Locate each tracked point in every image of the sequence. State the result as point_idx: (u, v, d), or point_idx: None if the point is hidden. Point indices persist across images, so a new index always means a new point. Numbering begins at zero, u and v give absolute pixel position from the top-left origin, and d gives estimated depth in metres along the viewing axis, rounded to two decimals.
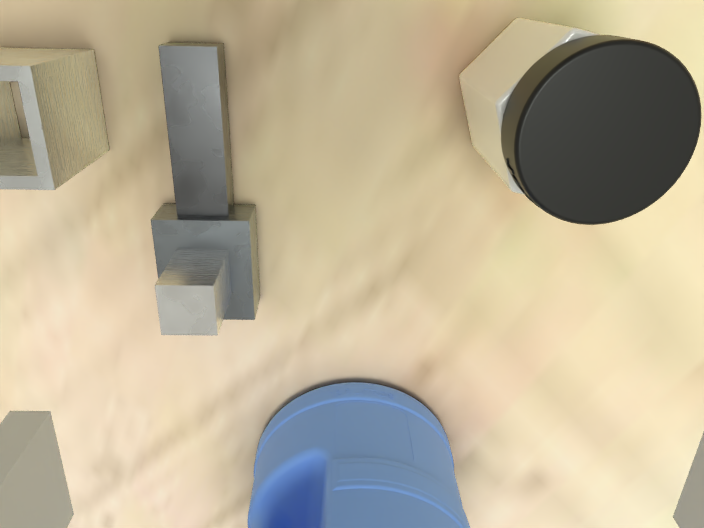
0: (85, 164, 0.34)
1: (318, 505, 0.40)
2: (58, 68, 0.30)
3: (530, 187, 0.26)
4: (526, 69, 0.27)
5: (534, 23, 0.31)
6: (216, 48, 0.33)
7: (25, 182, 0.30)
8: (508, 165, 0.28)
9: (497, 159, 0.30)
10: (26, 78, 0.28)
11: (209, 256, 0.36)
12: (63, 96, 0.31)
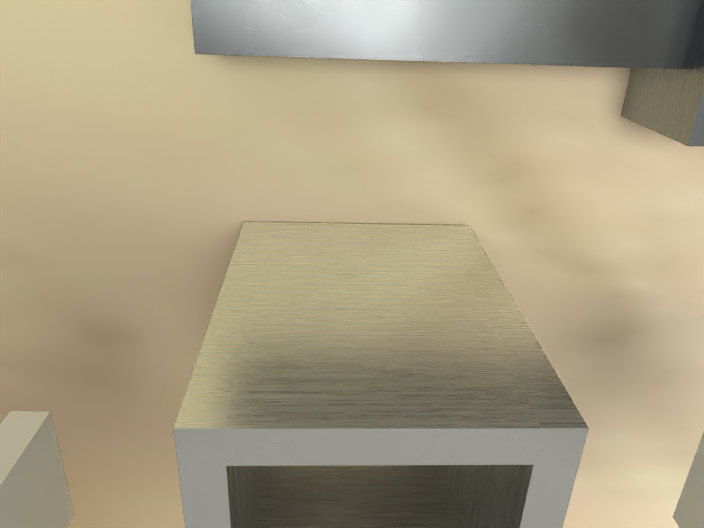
0: (501, 294, 0.12)
1: None
2: (234, 322, 0.11)
3: None
4: None
5: None
6: None
7: (546, 497, 0.09)
8: None
9: None
10: (215, 443, 0.09)
11: None
12: (309, 322, 0.11)
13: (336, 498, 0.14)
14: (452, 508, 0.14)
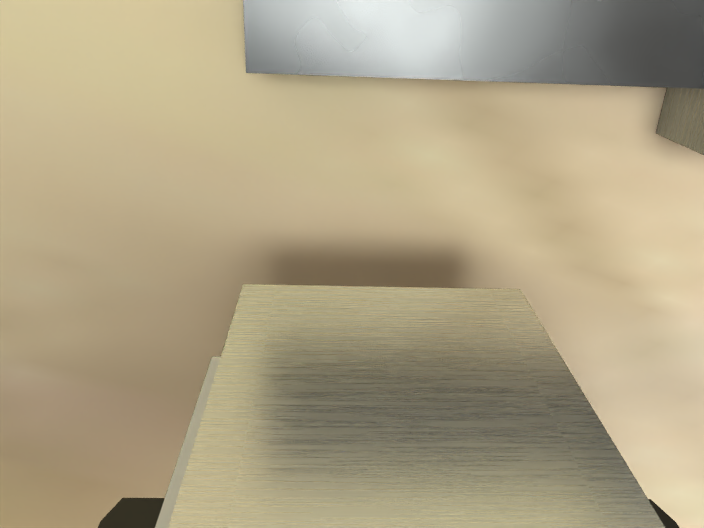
0: (578, 402, 0.09)
1: None
2: (224, 455, 0.08)
3: None
4: None
5: None
6: None
7: None
8: None
9: None
10: None
11: None
12: (326, 456, 0.08)
13: None
14: None
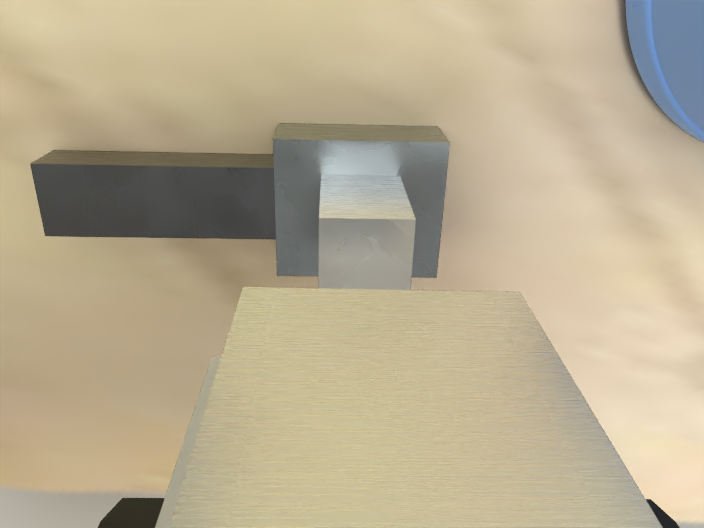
0: (579, 406, 0.09)
1: None
2: (223, 460, 0.08)
3: None
4: None
5: None
6: (33, 164, 0.24)
7: None
8: None
9: None
10: None
11: None
12: (326, 460, 0.08)
13: None
14: None
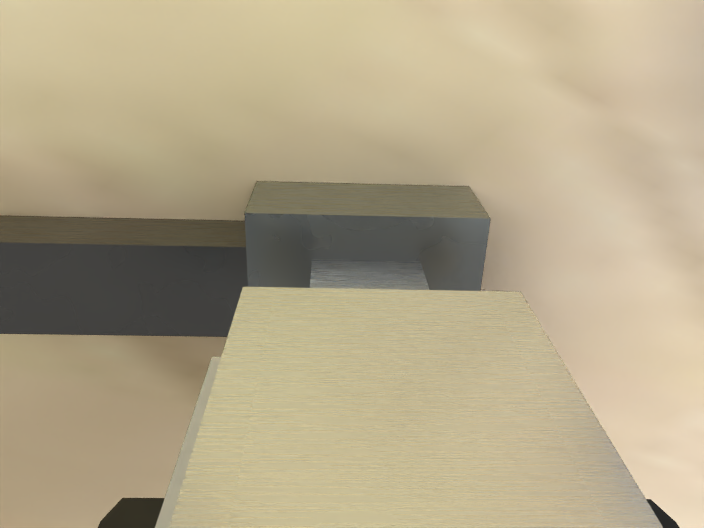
0: (579, 406, 0.09)
1: None
2: (223, 459, 0.08)
3: None
4: None
5: None
6: None
7: None
8: None
9: None
10: None
11: None
12: (326, 460, 0.08)
13: None
14: None
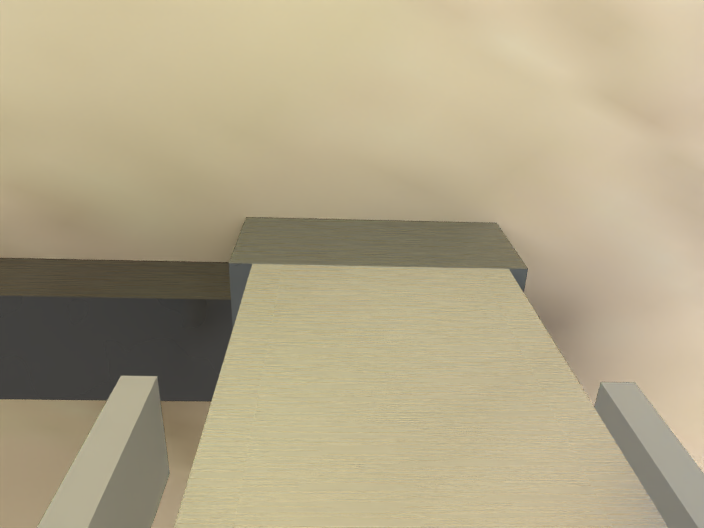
0: (558, 363, 0.10)
1: None
2: (240, 405, 0.09)
3: None
4: None
5: None
6: None
7: None
8: None
9: None
10: None
11: None
12: (331, 406, 0.09)
13: None
14: None
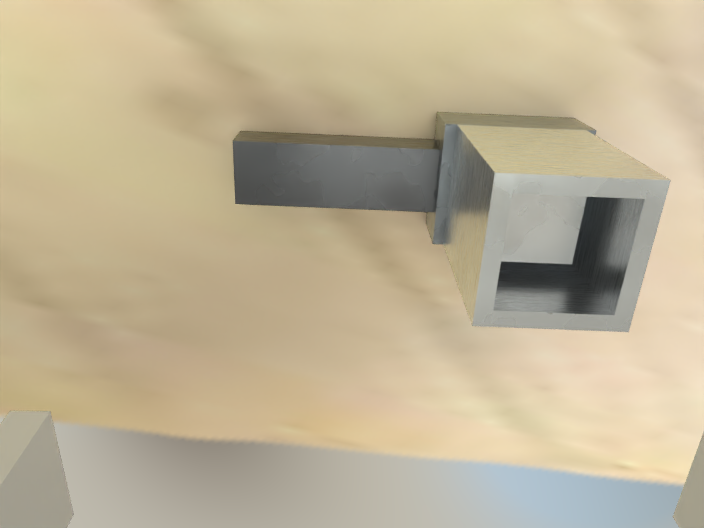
0: (616, 150, 0.24)
1: None
2: (490, 152, 0.23)
3: None
4: None
5: None
6: (235, 141, 0.28)
7: (649, 218, 0.21)
8: None
9: None
10: (509, 181, 0.20)
11: None
12: (526, 153, 0.23)
13: (516, 270, 0.26)
14: (581, 276, 0.25)
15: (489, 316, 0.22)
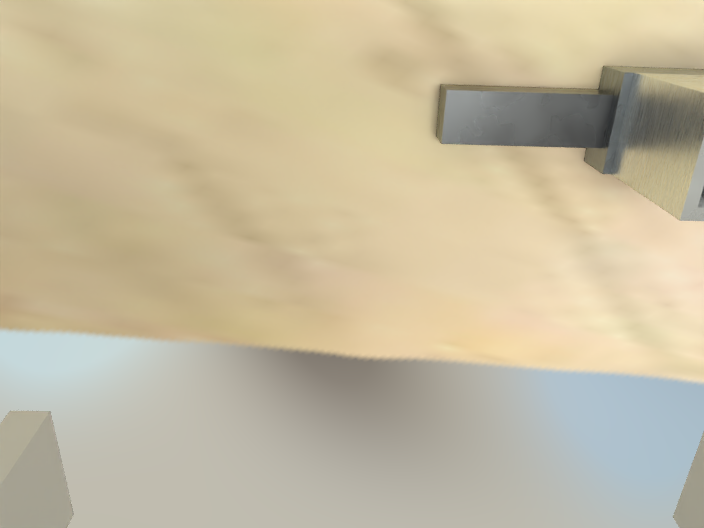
0: None
1: None
2: (690, 86, 0.29)
3: None
4: None
5: None
6: (448, 90, 0.35)
7: None
8: None
9: None
10: None
11: None
12: None
13: None
14: None
15: (694, 212, 0.29)
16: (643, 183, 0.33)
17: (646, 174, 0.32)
